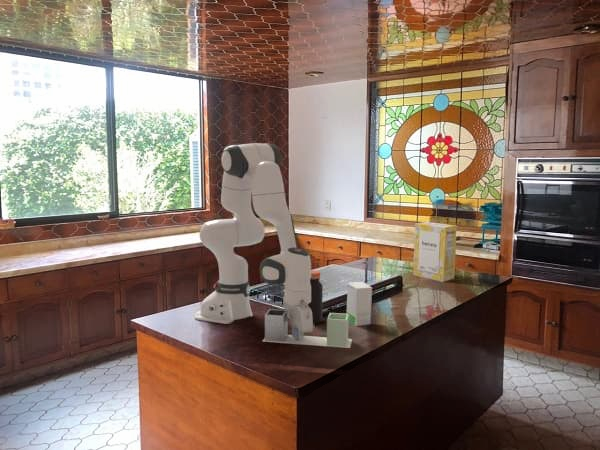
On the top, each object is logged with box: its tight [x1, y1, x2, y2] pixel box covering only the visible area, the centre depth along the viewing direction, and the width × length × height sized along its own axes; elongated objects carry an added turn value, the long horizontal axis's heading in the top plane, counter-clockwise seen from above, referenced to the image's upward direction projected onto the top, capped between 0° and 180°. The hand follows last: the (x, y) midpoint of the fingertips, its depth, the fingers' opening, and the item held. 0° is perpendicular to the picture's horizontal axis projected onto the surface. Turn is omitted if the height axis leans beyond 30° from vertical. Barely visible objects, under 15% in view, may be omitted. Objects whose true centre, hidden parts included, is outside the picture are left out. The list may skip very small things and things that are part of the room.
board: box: [262, 334, 353, 349], centre depth 160 cm, size 30×8×1 cm, turn 79°
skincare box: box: [345, 281, 373, 327], centre depth 178 cm, size 8×7×16 cm
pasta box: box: [412, 221, 458, 283], centre depth 249 cm, size 18×10×28 cm, turn 41°
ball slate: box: [291, 328, 299, 340], centre depth 161 cm, size 4×4×4 cm
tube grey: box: [264, 308, 289, 343], centre depth 162 cm, size 6×6×9 cm
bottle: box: [308, 270, 324, 325], centre depth 179 cm, size 7×7×20 cm
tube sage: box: [326, 312, 349, 348], centre depth 158 cm, size 6×6×9 cm
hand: (297, 336), depth 161 cm, fingers closed on ball slate, 4 cm apart
